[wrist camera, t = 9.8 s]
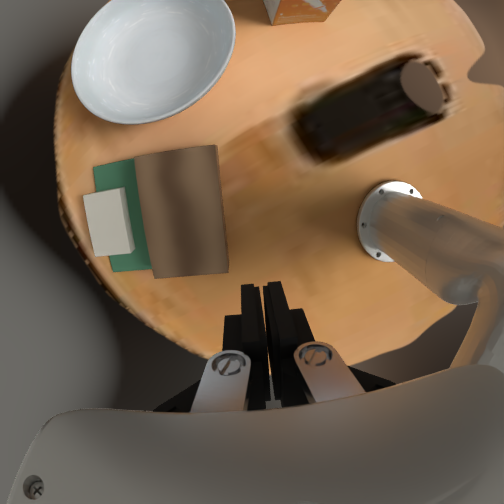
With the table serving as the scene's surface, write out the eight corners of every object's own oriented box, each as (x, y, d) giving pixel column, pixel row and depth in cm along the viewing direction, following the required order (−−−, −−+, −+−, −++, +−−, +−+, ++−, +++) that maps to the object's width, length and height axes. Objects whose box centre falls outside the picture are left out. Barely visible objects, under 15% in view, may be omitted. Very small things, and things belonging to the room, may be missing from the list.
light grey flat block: (82, 195, 33) (89, 193, 35) (95, 256, 36) (100, 252, 38) (119, 188, 33) (124, 186, 35) (130, 253, 36) (135, 248, 38)
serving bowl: (234, -6, 27) (234, -31, 20) (238, 120, 34) (238, 113, 27) (99, 18, 26) (79, 2, 19) (93, 140, 33) (67, 139, 26)
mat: (142, 156, 34) (141, 156, 34) (160, 267, 40) (159, 268, 39) (94, 167, 34) (93, 167, 34) (114, 271, 40) (113, 272, 39)
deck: (217, 145, 34) (214, 144, 31) (229, 261, 40) (228, 272, 36) (144, 156, 34) (134, 157, 30) (161, 267, 40) (154, 278, 36)
